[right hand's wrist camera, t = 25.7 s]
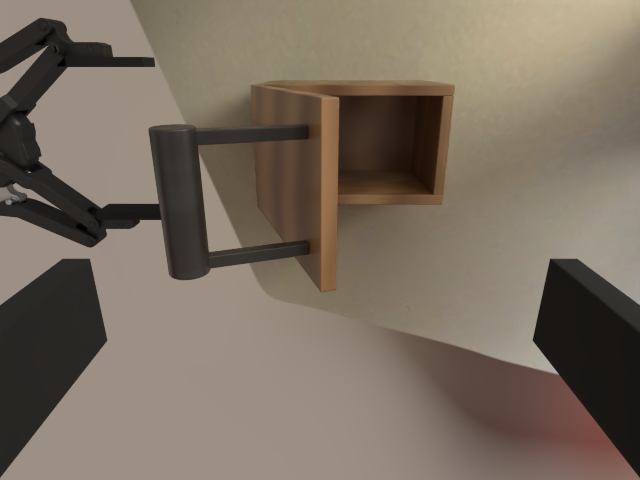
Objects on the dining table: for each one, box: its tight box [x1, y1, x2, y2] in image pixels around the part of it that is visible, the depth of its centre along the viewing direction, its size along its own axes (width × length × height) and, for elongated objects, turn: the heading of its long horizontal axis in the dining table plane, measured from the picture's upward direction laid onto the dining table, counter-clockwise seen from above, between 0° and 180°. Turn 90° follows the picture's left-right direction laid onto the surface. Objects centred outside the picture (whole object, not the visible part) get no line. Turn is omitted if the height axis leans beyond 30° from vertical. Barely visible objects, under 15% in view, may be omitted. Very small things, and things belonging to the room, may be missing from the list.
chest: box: [259, 81, 455, 204], centre depth 42 cm, size 16×10×11 cm, turn 90°
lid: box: [149, 85, 339, 292], centre depth 28 cm, size 17×10×9 cm
